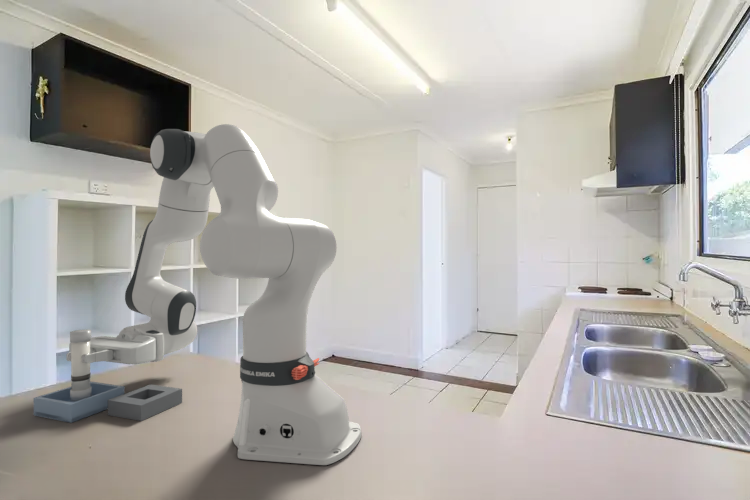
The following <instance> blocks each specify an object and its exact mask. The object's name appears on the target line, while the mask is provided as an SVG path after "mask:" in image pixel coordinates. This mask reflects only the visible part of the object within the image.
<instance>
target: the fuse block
mask: <svg viewBox="0 0 750 500" xmlns="http://www.w3.org/2000/svg"><path fill="white" fill-rule="evenodd" d="M182 403H183V388H179V387H172V386H166V385H165V386H164V385H159V384H158V385H157V384H152V383H151V384H148V385H145V386H143V387H139V388H137V389H134V390H131V391H128V392H125V393H124V394H123V395H120V396H117V397H115V398H112V399H109V400H108V409H107V415H108V416H111V417H117V418H123V419H129V420H134V421H138V422H143V421H145V420H147V419H149V418H151V417H154V416H155V415H158V414H160V413H162V412H164V411H167V410H169V409H171V408H174V407H176V406H177V405H178V406H179V405H180V404H182Z"/></svg>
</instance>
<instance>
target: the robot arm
mask: <svg viewBox="0 0 750 500" xmlns="http://www.w3.org/2000/svg"><path fill="white" fill-rule="evenodd" d="M151 141H152V142H151V145H150V150H149V151H150V152H149V156H150V164H151V166H152V168H153V170H154V172H155V173H156V174H157V175H158V176H160V177H163V179H162V182H161V187H160V191H159V197H158V204H157V209H156V212H155V216H154V218H153V219H152V220H150V221H149V222H148V224H147V225H146V227H145V229H144V232H143V235H142V239H141V242H140V245H139V250H138V255H137V258H136V263H135V267H134V270H133V274H132V275H131V278H130V281H129V283H128V285H127V286H126V289H125V294H124V300H125V301H124V302H125V304H126V307H127V308H128V309H129V310H130V311H132V312H136V313H137V314H141V315H145V316H146V317H149V318H150V319H149V321H148V322H145V323H140V324H136V325H135V324H134V325H130V326H126V327H124V328H123V329H121V330H120V332H119V333H118V335H117V336H104V335H101V336H93V337H92V336H91V340H90V353H87V354H83V355H82V363H88V364H89V363H90V364H92V363H98V362H109V363H117V364H123V365H141V364H145V363H149V362H151V363H157V362H161V361H163V360H164V358H165V357H164V356H165V355H169V354H172V353H175V352H178V351H181V350H184V349H185V348H186V347H188V346H190V345H191V344H193V342H194V341H195V339H197V334H198V326H197V323H196V321H195V317H196V312H197V300H196V299H197V298H196V297H195V295H194V293H193V292H192V291H190V290H187V289H186V288H183V287H180V286H178V285H176V284H172V283H171V282H168V281H165V280H164V278H163V277H162V275H161V272H162V271H161V270H162V266H163V263H164V259H165V254H166V252H167V249H168V247H169V246H170V245H171V244H174V243H181V242H187V241H192V240H194V239H195V238H197V237H198V236H200V235H201V237H200V240H199V253H200V256H201V259H202V262H203V264H204V265H205V267H206V268H207V270H208V271H209V272H211V273H212V274H213V275H215V276H218V277H224V278H228V279H236V280H256V279H257V280H258V279H268V281H267V285H266V288H265V289H264V292H263V293H262V295H261V296H260V297H258V299H256V300H255V301H254V302H252V303H251V304H250V305H249V306H248V307H247V308H246V310H245V311H244V313H243V316H242V356H241V357H240V362H239V364H240V365H239V378H240V379H241V395H240V405H239V413H238V417H237V423H236V427H235V431H234V434H233V436H232V441H233V442H232V443H233V444H234V445H235V446H236V448H237V458H238V459H240V460H249V461H264V462H275V463H289V464H290V463H291V464H302V465H303V464H304V465H317V466H327V465H328V466H329V465H331V464H333V463H336V462H339V460H341V459H343V458H345V457H346V456H348V455H349V454H350V453H351V452H352V451H353V450H354V449H355V448H356V446H357V445H358V443H359V442H360V440H361V438H362V427H361V425H360V424H359V423H358V422H353V421H350V420H349V412H348V407H347V403H346V400H345V399H344V397H342V395H340V394H339V393H338V392H336V391H335V390H334V389H333V388H331V386H329V384H327V383H326V382H325V381H324V380H323V379H322V378H320V377H319V376H318V375H317V374H316V370H315V368H316V367H317V366H318V365H320V362H319V361H320V358H319V357H318V358H315V359H314V360H313V359H312V358H311V357H310V355H309V353H308V351H307V329H308V328H307V327H308V326H307V323H308V312H309V307H310V302H311V298H312V296H313V293H314V290H315V288H316V286H317V284H318V281H319V280H320V278H321V276H322V275H323V274H324V273H325V272H326V271H327V270H329V268H330V267H331V266H332V264H333V262H334V261H335V258H336V254H337V248H338V247H337V240H336V237H335V235H334V233H333V231H332V229H331V228H330V227H328V226H327V225H326V224H324V223H321V222H318V221H314V220H312V219H308V218H301V217H285V216H278V215H274V214H272V213H271V212H270V210H272V209H273V207H274V206H275V205H276V202H277V201H278V197H279V196H278V194H279V187H278V184H277V181H276V180H275V178H274V176H273V174H272V172H271V171H270V168H269V167H268V164H267V162H266V161H265V159H264V157H263V155H262V153H261V152H260V150H259V148H258V147H257V146H256V144H255V143H254V142H253V140H252V139H251V138H250V136H249V135H248V134H247V133H246V132H245V131H244V130H243V129H241V128H240V127H239V126H237V125H234V124H229V123H228V124H227V123H225V124H223V123H221V124H219V125H216V126H213V127H211V128H210V129H209V130H208V131H207V132H206V133H202V132H195V131H184V130H182V129H179V128H165V129H161V130H160V131H158V132H157V133H155V134H154V137H153V138H152V140H151ZM213 188H214V190H215V193H216V195H217V198H218V201H219V204H220V212H219V214H218V215H217V216H215V217H214V218H213V219H212V220H210V221H209V223H207V222H208V218H209V217H208V216H209V210H210V209H209V208H210V199H211V198H210V197H211V191H212V189H213ZM68 347H69V349H68V350H69V351H68V352H66V357H65V359H66V361H67V362H71V342H70V341H69V345H68Z"/></svg>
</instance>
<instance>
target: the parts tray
mask: <svg viewBox="0 0 750 500" xmlns="http://www.w3.org/2000/svg"><path fill="white" fill-rule="evenodd" d="M90 386H91V387H92V396H91V397H88V398H85V399H82V400H79V401H70V390H71V386H67V387H65V388H61V389H58V390H55V391H52V392H48V393H45V394H42V395H38V396H35V397H33V416H34V417H40V418H45V419H50V420H56V421H59V422H60V421H61V422H64V423H71V424H72V423H75V422H78V421H80V420H83V419H85V418H87V417H90V416H93V415H95V414H99V413H101V412H103V411H105V410H108V400H109V399H112V398H115V397H117V396H120V395H123V394H125V386H123V385H117V384H111V383H110V384H109V383H104V382H98V381H91V380H90Z"/></svg>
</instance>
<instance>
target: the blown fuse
mask: <svg viewBox="0 0 750 500" xmlns="http://www.w3.org/2000/svg"><path fill="white" fill-rule="evenodd" d="M91 338H92V329H86V328H85V329H78V330H77V329H76V330H71V331H69V343H70V342H71V361H70V363H71V364H70V366H71V369H70V371H71V374H70V381H71V385H70V387H71V390H70V401H79V400H82V399H85V398H88V397H91V396H92V387H91V386H90V381H91V377H92V376H91V363H89V364H88V363H82V355H83V354H87V353H90V340H91Z"/></svg>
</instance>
